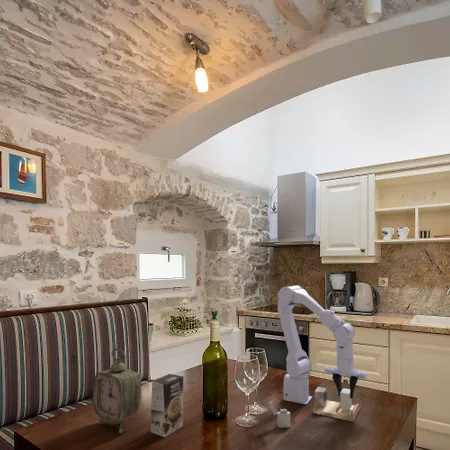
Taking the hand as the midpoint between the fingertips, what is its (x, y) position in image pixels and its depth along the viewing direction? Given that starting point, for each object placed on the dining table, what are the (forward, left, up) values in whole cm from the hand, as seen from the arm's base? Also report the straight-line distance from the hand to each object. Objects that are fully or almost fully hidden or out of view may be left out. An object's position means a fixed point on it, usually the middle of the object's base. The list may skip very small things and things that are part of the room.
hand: (345, 396), depth 131 cm
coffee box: (-49, -41, -6) cm, 64 cm away
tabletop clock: (-65, -47, -6) cm, 80 cm away
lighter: (-18, -21, -6) cm, 28 cm away
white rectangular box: (0, 0, -3) cm, 3 cm away
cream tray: (-4, 0, -6) cm, 7 cm away
